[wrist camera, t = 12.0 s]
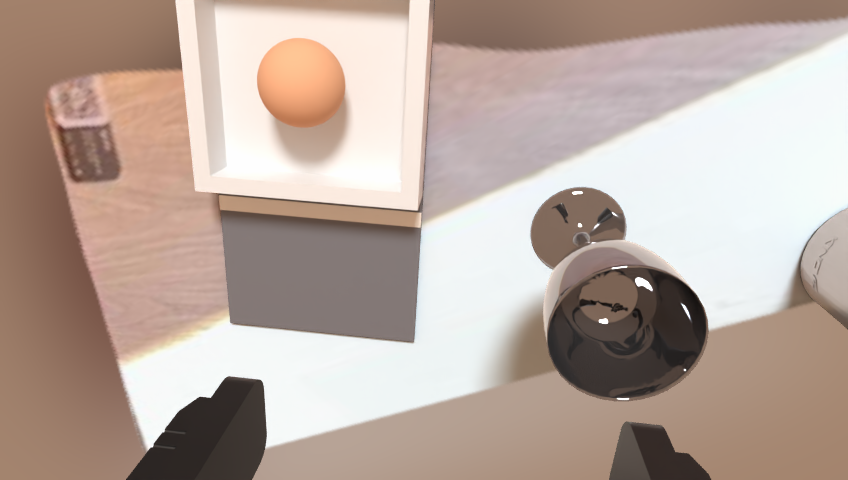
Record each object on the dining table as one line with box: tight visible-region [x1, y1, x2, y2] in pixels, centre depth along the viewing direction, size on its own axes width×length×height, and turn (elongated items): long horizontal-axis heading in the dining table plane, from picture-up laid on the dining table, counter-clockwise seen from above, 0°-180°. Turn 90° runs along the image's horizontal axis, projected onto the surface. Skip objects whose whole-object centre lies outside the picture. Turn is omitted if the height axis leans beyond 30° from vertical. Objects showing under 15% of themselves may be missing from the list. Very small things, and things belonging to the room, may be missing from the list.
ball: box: [257, 38, 345, 128], centre depth 36 cm, size 6×6×6 cm
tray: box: [176, 0, 434, 211], centre depth 37 cm, size 16×16×4 cm
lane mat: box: [219, 0, 435, 342], centre depth 41 cm, size 16×30×1 cm, turn 177°
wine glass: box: [531, 187, 708, 401], centre depth 35 cm, size 8×8×15 cm
